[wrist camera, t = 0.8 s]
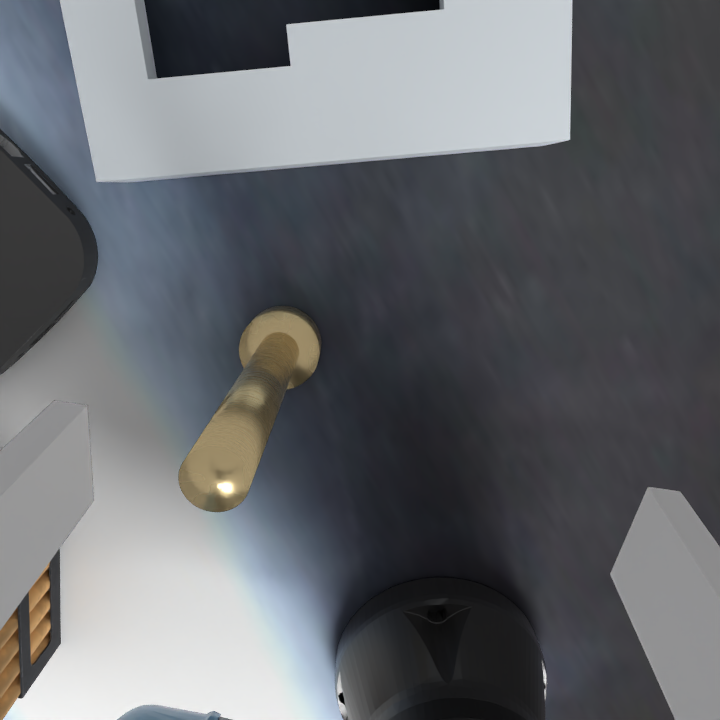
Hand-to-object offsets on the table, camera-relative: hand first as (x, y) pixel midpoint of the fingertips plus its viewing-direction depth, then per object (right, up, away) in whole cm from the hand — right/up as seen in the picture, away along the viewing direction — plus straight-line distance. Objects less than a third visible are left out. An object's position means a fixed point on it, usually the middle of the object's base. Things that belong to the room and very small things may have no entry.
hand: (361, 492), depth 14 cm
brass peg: (-5, +4, +23) cm, 24 cm away
